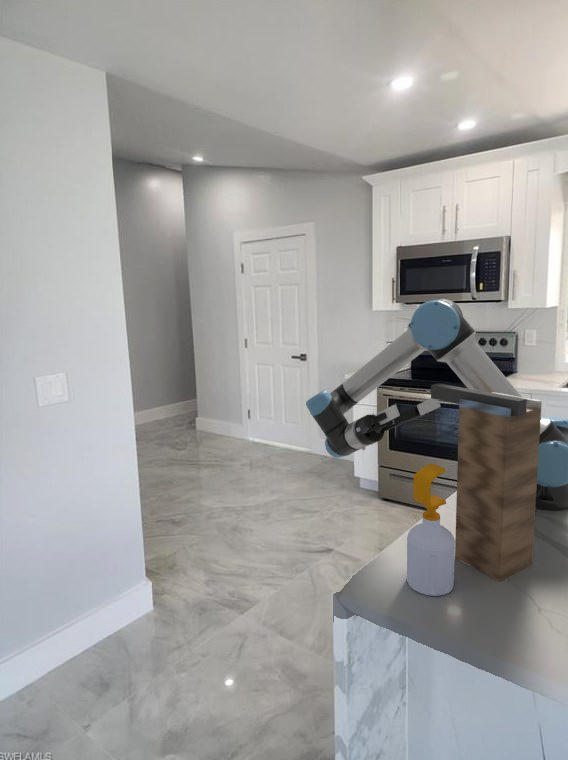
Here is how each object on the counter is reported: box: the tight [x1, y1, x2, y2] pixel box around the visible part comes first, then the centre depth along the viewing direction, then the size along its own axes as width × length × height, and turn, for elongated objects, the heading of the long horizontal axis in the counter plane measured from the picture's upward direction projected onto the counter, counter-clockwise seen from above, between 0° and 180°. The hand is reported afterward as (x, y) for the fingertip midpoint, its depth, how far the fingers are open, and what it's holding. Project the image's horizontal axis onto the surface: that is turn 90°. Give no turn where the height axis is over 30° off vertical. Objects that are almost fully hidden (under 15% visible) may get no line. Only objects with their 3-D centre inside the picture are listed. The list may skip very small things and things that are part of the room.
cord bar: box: [430, 383, 527, 417], centre depth 104 cm, size 21×3×3 cm, turn 33°
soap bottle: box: [406, 463, 455, 597], centre depth 99 cm, size 9×9×25 cm
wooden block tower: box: [454, 392, 543, 582], centre depth 105 cm, size 11×11×36 cm
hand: (418, 405), depth 118 cm, fingers open, 13 cm apart
